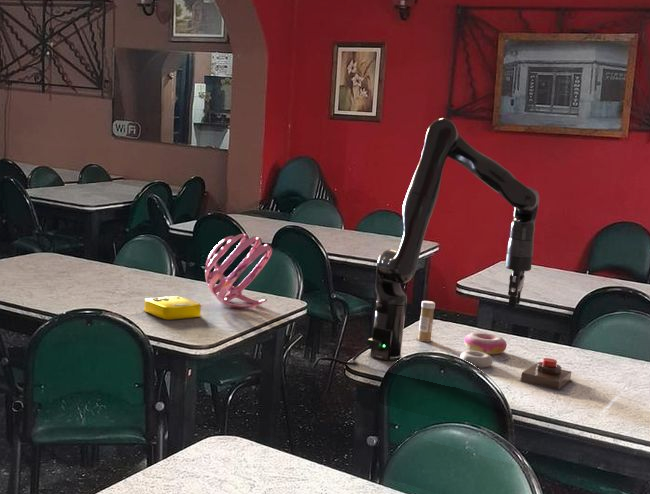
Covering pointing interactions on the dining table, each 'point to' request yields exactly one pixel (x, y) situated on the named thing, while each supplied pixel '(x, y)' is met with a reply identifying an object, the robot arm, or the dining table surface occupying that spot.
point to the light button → (549, 362)
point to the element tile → (172, 307)
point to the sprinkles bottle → (426, 321)
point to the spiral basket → (227, 282)
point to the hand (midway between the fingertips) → (513, 306)
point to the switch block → (546, 376)
